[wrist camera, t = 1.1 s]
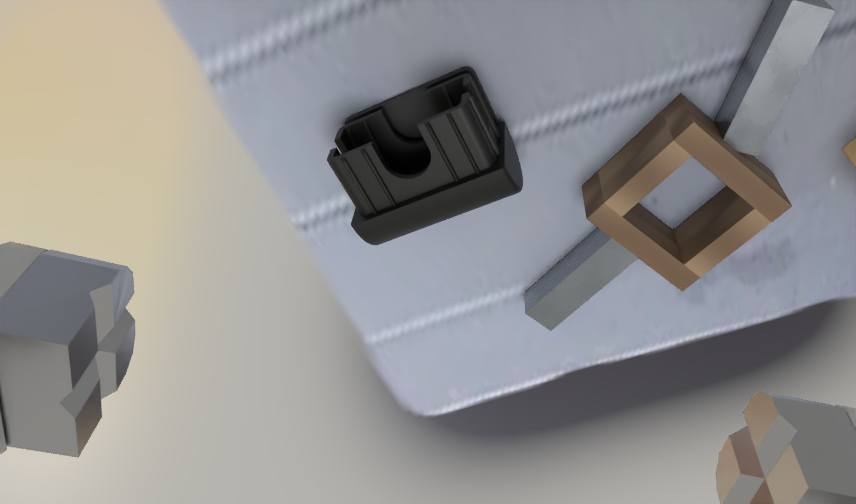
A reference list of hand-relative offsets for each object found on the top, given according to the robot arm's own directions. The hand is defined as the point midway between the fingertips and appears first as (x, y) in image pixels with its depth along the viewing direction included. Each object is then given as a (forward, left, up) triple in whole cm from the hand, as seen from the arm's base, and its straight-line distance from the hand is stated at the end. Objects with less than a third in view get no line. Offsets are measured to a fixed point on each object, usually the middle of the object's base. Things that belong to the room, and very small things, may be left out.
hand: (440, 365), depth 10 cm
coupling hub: (+7, +21, -38) cm, 44 cm away
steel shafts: (+7, +20, -38) cm, 44 cm away
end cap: (+15, +7, -39) cm, 42 cm away
